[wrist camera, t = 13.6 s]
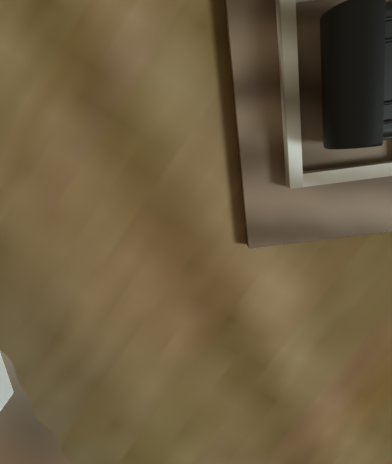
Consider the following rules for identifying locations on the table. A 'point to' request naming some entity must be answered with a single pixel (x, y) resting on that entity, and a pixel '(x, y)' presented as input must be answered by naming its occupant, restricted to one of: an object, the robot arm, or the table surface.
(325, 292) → the table surface
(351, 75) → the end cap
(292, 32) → the lens rest
